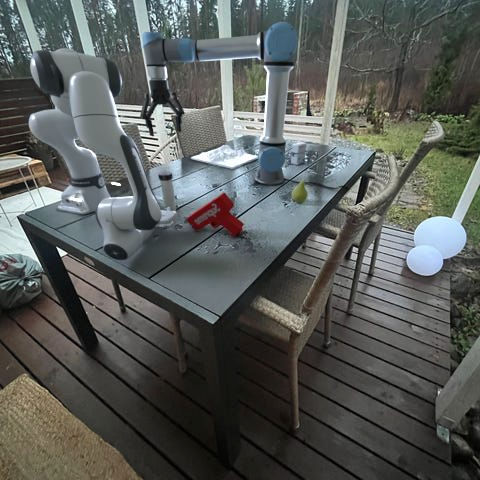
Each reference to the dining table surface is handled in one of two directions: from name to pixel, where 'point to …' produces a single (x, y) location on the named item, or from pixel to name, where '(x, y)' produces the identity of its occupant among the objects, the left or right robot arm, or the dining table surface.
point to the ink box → (298, 153)
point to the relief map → (226, 157)
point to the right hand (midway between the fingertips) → (166, 133)
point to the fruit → (300, 192)
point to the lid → (165, 175)
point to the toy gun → (216, 216)
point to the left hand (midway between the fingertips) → (156, 207)
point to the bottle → (168, 194)
